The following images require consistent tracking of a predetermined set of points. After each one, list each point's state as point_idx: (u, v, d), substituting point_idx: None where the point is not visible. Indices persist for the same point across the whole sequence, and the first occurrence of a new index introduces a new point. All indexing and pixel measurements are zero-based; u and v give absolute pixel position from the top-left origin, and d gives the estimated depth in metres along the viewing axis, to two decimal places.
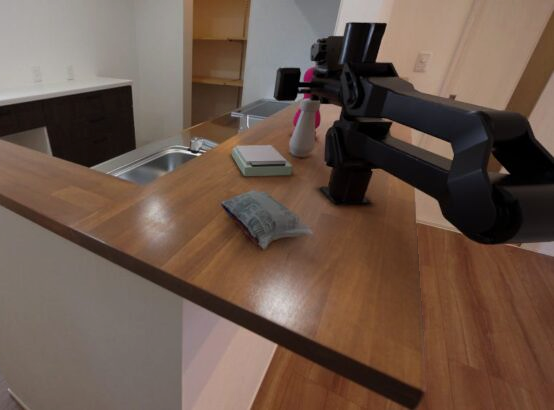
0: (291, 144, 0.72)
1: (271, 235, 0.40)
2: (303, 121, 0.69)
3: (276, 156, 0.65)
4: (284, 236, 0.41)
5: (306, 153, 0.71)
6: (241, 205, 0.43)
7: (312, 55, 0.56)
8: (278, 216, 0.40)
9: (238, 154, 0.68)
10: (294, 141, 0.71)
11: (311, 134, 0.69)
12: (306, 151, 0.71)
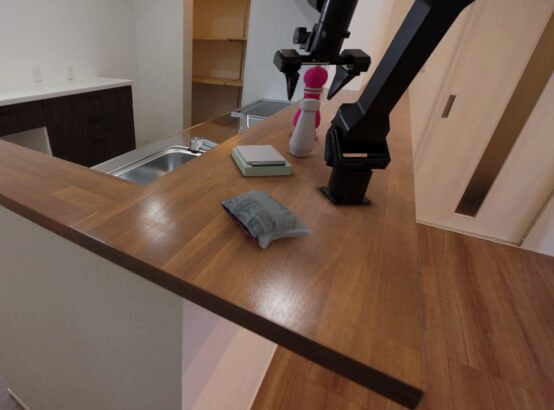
0: (291, 144, 0.72)
1: (271, 235, 0.40)
2: (303, 121, 0.69)
3: (276, 156, 0.65)
4: (284, 236, 0.41)
5: (306, 153, 0.71)
6: (241, 205, 0.43)
7: (296, 40, 0.64)
8: (278, 216, 0.40)
9: (238, 154, 0.68)
10: (294, 141, 0.71)
11: (311, 134, 0.69)
12: (306, 151, 0.71)
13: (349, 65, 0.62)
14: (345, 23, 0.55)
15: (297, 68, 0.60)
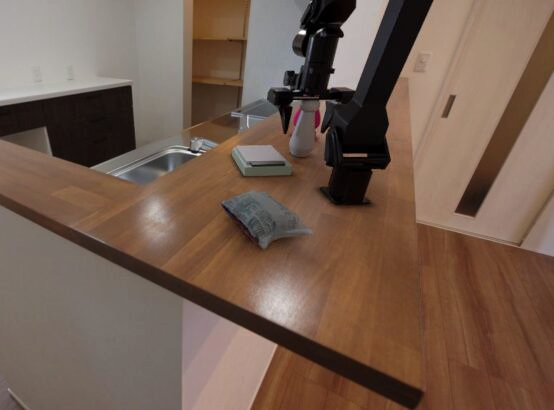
0: (291, 144, 0.72)
1: (271, 235, 0.40)
2: (302, 121, 0.69)
3: (276, 156, 0.65)
4: (284, 236, 0.41)
5: (306, 153, 0.71)
6: (241, 205, 0.43)
7: (286, 81, 0.70)
8: (278, 216, 0.40)
9: (238, 154, 0.68)
10: (294, 140, 0.71)
11: (311, 133, 0.69)
12: (306, 151, 0.71)
13: (337, 100, 0.67)
14: (329, 60, 0.61)
15: (289, 101, 0.64)
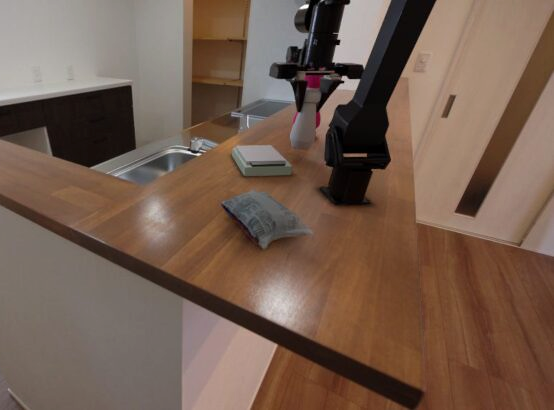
0: (291, 136, 0.71)
1: (271, 235, 0.40)
2: (303, 112, 0.68)
3: (276, 156, 0.65)
4: (284, 236, 0.41)
5: (306, 145, 0.70)
6: (241, 205, 0.43)
7: (289, 57, 0.68)
8: (278, 216, 0.40)
9: (238, 154, 0.68)
10: (294, 132, 0.70)
11: (312, 125, 0.68)
12: (306, 143, 0.70)
13: (332, 75, 0.64)
14: (334, 30, 0.58)
15: (293, 74, 0.61)
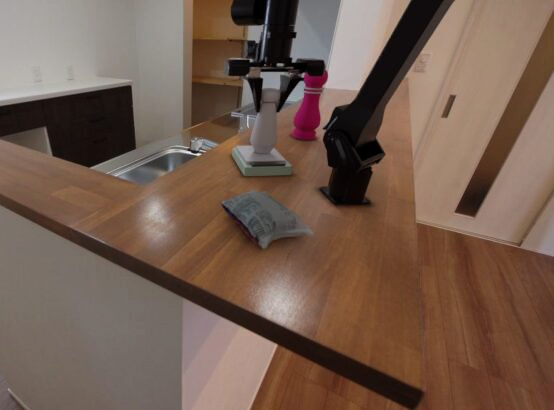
0: (251, 139, 0.65)
1: (271, 235, 0.40)
2: (262, 113, 0.62)
3: (276, 156, 0.65)
4: (284, 236, 0.41)
5: (267, 148, 0.64)
6: (241, 205, 0.43)
7: (246, 52, 0.62)
8: (278, 216, 0.40)
9: (238, 154, 0.68)
10: (253, 135, 0.64)
11: (272, 127, 0.62)
12: (267, 146, 0.64)
13: (291, 71, 0.58)
14: (294, 22, 0.54)
15: (246, 71, 0.56)
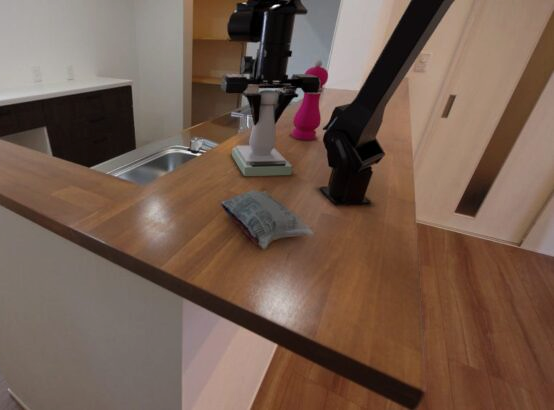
0: (250, 141, 0.65)
1: (271, 235, 0.40)
2: (260, 115, 0.62)
3: (276, 156, 0.65)
4: (284, 236, 0.41)
5: (265, 151, 0.64)
6: (241, 205, 0.43)
7: (243, 68, 0.63)
8: (278, 216, 0.40)
9: (238, 154, 0.68)
10: (252, 137, 0.64)
11: (270, 129, 0.63)
12: (266, 149, 0.64)
13: (285, 88, 0.60)
14: (290, 41, 0.55)
15: (243, 88, 0.57)
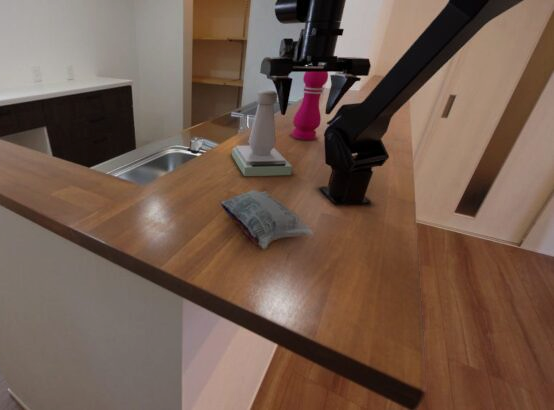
0: (249, 141, 0.65)
1: (271, 235, 0.40)
2: (259, 115, 0.62)
3: (276, 156, 0.65)
4: (284, 236, 0.41)
5: (265, 150, 0.64)
6: (241, 205, 0.43)
7: (283, 51, 0.58)
8: (278, 216, 0.40)
9: (238, 154, 0.68)
10: (252, 137, 0.64)
11: (269, 129, 0.62)
12: (265, 149, 0.64)
13: (346, 71, 0.55)
14: (340, 18, 0.50)
15: (288, 70, 0.52)
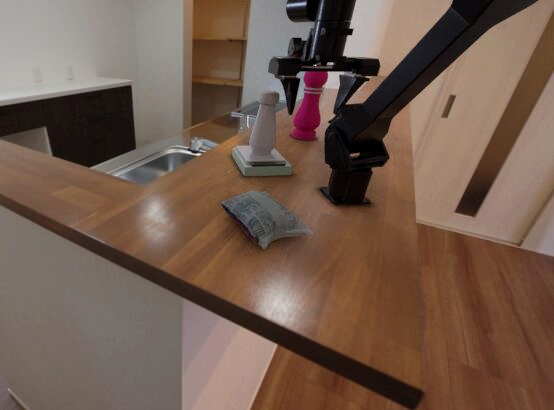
0: (250, 141, 0.65)
1: (271, 235, 0.40)
2: (261, 115, 0.62)
3: (276, 156, 0.65)
4: (284, 236, 0.41)
5: (265, 151, 0.64)
6: (241, 205, 0.43)
7: (291, 50, 0.58)
8: (278, 216, 0.40)
9: (238, 154, 0.68)
10: (252, 137, 0.64)
11: (270, 129, 0.63)
12: (265, 149, 0.64)
13: (355, 71, 0.55)
14: (349, 18, 0.49)
15: (296, 70, 0.52)
